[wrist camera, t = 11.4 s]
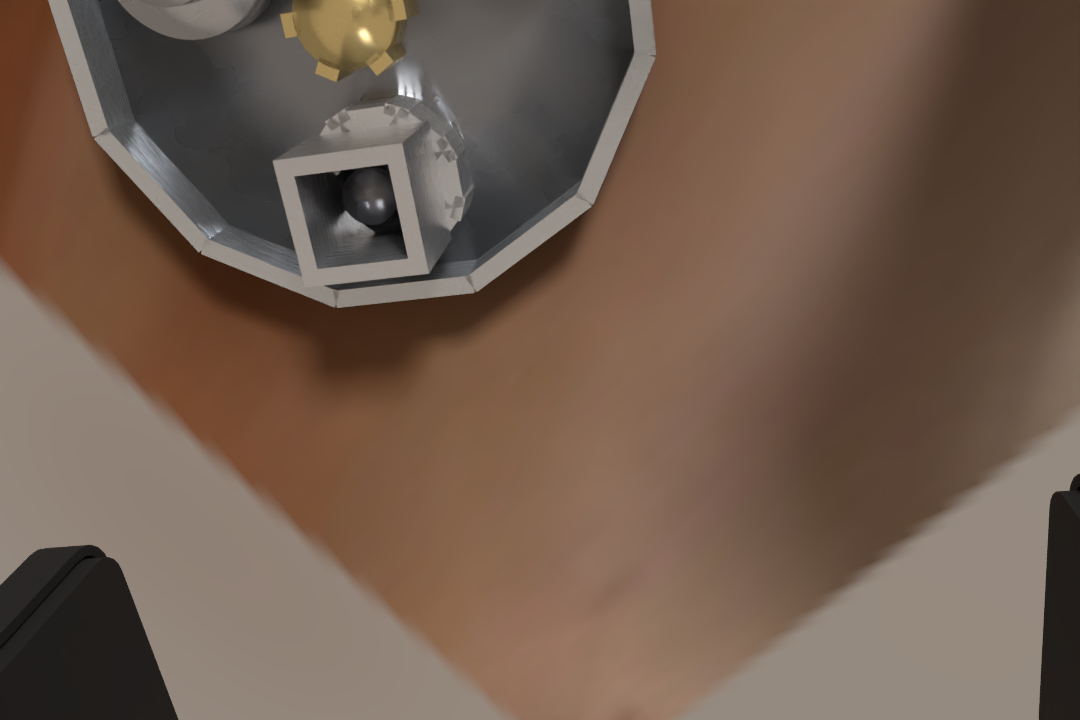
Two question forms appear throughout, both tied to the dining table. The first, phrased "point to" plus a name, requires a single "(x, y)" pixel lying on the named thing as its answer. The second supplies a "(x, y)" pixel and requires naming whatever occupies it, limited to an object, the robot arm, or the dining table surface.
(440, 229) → the grey hollow boxy piece
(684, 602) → the dining table surface
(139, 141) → the tray
